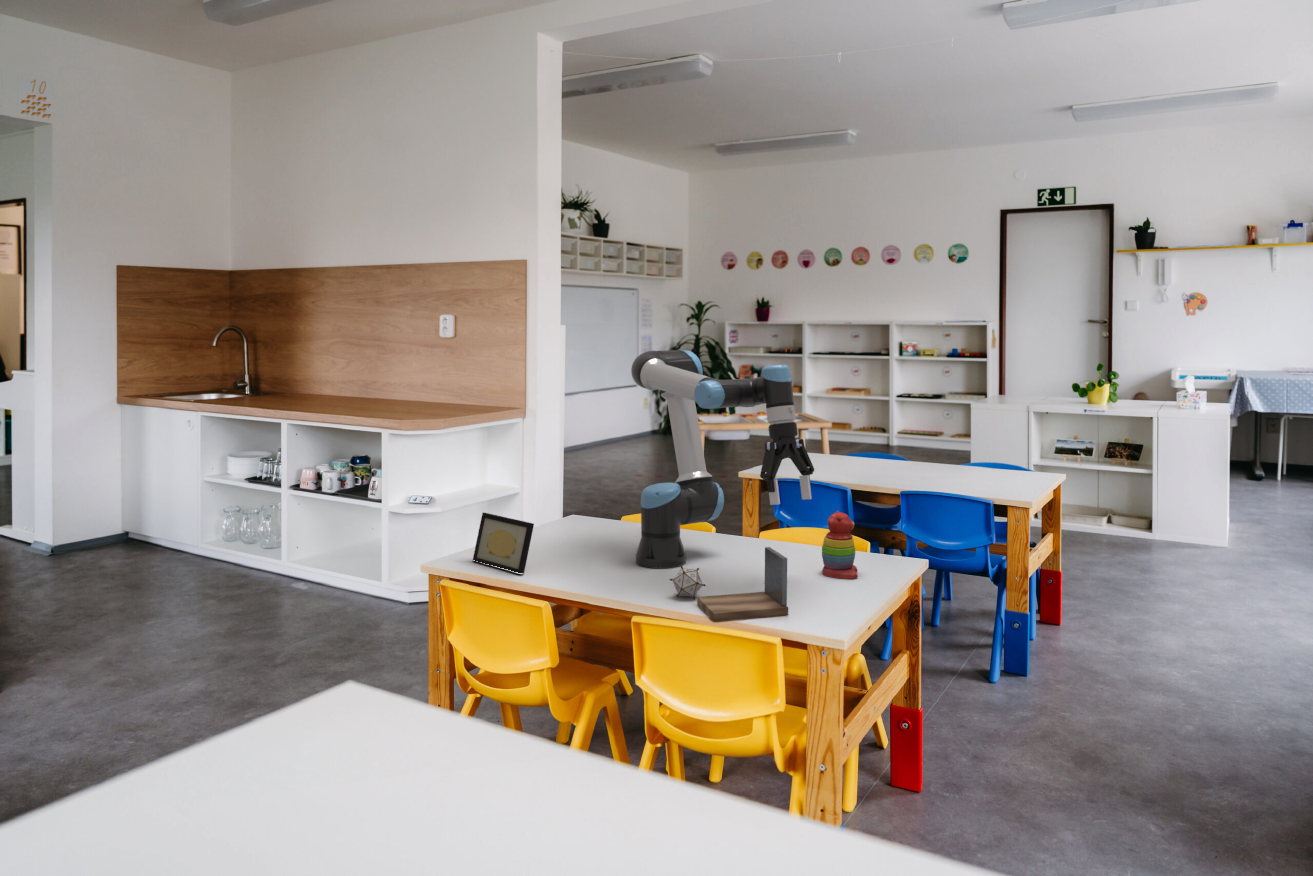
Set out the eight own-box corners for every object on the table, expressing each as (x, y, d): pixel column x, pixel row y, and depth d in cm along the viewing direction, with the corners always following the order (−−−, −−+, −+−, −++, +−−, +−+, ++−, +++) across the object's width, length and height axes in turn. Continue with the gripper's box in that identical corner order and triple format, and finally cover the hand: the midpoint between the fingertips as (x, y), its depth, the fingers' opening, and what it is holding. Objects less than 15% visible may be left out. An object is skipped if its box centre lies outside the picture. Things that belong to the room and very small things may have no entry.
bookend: (764, 592, 233) (764, 547, 231) (768, 592, 233) (769, 546, 232) (782, 606, 221) (782, 558, 220) (786, 606, 222) (787, 558, 220)
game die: (681, 609, 238) (668, 575, 242) (710, 597, 238) (697, 563, 242) (678, 602, 230) (664, 567, 234) (708, 590, 230) (694, 555, 234)
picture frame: (471, 562, 273) (475, 512, 272) (495, 559, 279) (499, 511, 279) (520, 576, 257) (523, 523, 256) (544, 573, 264) (547, 522, 263)
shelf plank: (697, 604, 230) (697, 597, 229) (767, 598, 234) (767, 591, 234) (714, 621, 216) (714, 613, 216) (788, 615, 221) (788, 607, 221)
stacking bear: (857, 580, 251) (859, 517, 249) (821, 578, 253) (822, 516, 251) (857, 569, 262) (858, 509, 260) (821, 568, 264) (822, 508, 262)
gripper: (763, 423, 230) (772, 506, 229) (821, 419, 247) (830, 496, 246) (740, 426, 235) (750, 507, 235) (799, 422, 253) (808, 497, 252)
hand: (791, 502), depth 240 cm, fingers open, 13 cm apart
